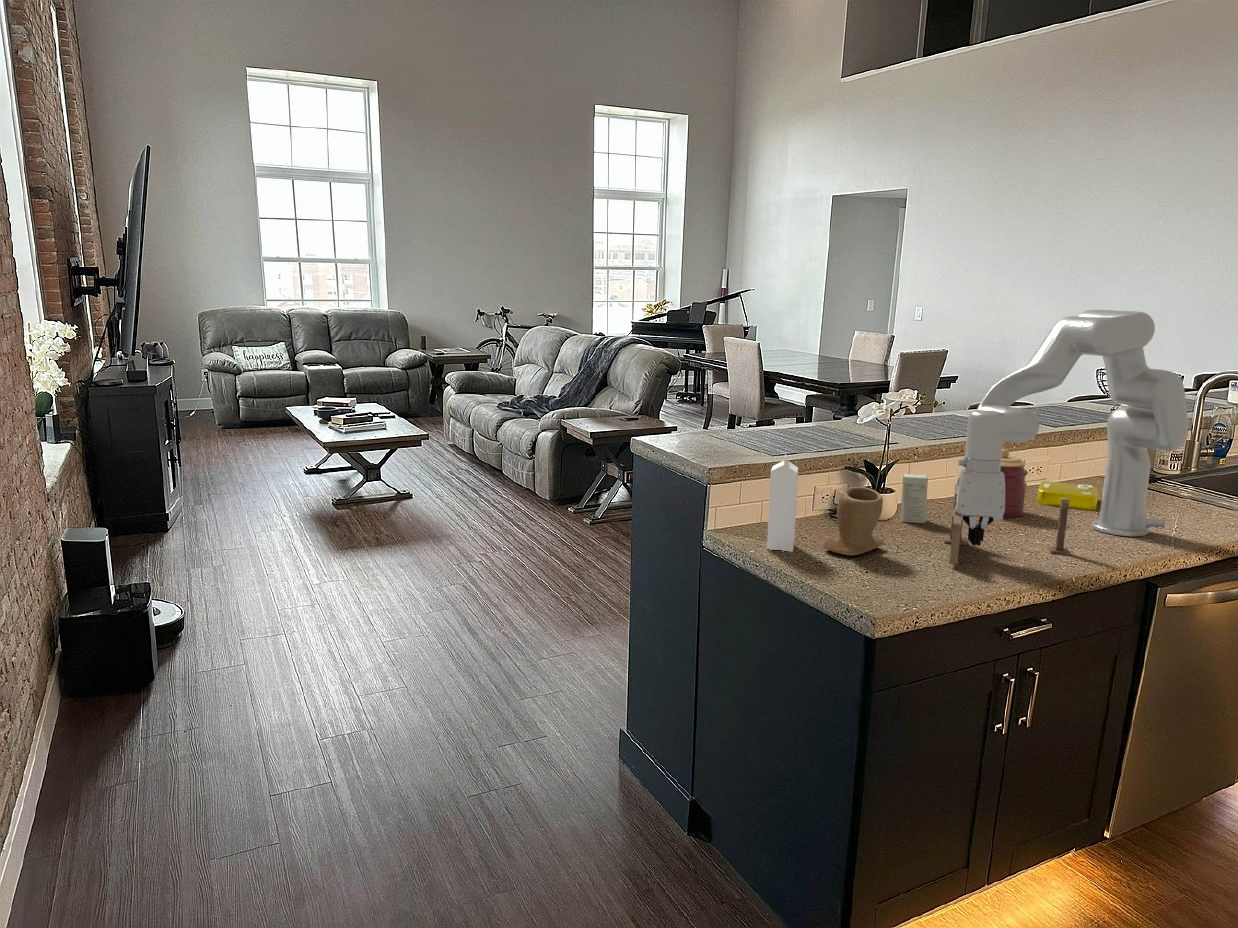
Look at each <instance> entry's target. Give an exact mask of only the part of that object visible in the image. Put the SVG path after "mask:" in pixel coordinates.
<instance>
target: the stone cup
mask: <svg viewBox="0 0 1238 928" xmlns="http://www.w3.org/2000/svg"><path fill="white" fill-rule="evenodd" d="M883 501H884V500H883V495H882V494H881V493H880V492H878V491H876V490H875V489H873V488H869V487H865V486H851V487H848V488H846V489H844V490H843V491H842V492H841V493H840V496H839V498H838V502H837V506H836V507H837V509H836V518H837V523H838V532H839V533H838V535H837V536H834V537H830V538H829V539H826V540H825V541H824V542H823V543H822V545H823V548H825V549H826V550H828V551H830V552H833V553H835V554H841V555H843V556H844V555H845V556H857V555H858V556H859V555H861V554H865V553H867V552H869V551H872V550H874V549H877V548H879V547H881V546H883V545H884V544H885V542H884V540H883V539H882V538H881V537H879V536H878V535H877V534H875V533H874V531H875V528H876V526H877V523H878V522H879V519H880V518H881V514H882V512H883V504H884V503H883Z"/></svg>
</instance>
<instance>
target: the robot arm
mask: <svg viewBox="0 0 1238 928" xmlns="http://www.w3.org/2000/svg"><path fill="white" fill-rule="evenodd" d="M1155 330H1156V325H1155V321H1154V319H1153V317H1152V316H1151V315H1150V314H1148V313H1147V312H1143V311H1136V310H1135V311H1133V310H1130V311H1129V310H1113V309H1088V310H1085V311H1082V312H1080V313H1079V314H1078V315H1076V316H1075V315H1073V316H1066V317H1063V318H1060V319H1059V320H1058V321H1056V322H1055V323H1054V324H1053V326H1052V328H1051V329H1050V330H1049V332H1048V333H1047V335H1046V336H1045V338H1044V339H1043V340H1042V342H1041V344H1040V345H1039V347H1038V348H1037V350H1036V351H1035V353H1034V354H1033V355H1032V356H1031V358H1030V360H1029V361H1028V363H1027V364H1026V365H1025V366H1023V367H1020V368H1019V369H1018V370H1017V369H1016V370H1015V371H1013V372H1011V374H1009V375H1007V376H1006V377H1004V378H1002V379H1001V380H1000V381H998V382H997V383H995V384H994V385H993V386H992V387H991V388H990V389H989V390H988V392H987V393H986V394H985V396H984V397H983V399H982V400H981V402H980V403H979V405H978V406H977V408H976V410H973V411H971V412H970V413H969V415H968V419H967V430H966V439H965V440H966V441H965V453H964V456H963V458H962V459H958V460H957V466H960V467H962V468H963V469H960V472H959V475H958V477H957V478H958V479H957V482H956V484H957V486H956V492H955V491H954V493H955V498H954V497H953V503H954V511H953V510H952V515H951V516H953V517H954V514H960V515H962V519H961V520H963V521H964V523H966V525H967V526H968V533H967V540H968V541H969V543H970V544H971V545H972V546H978V547H981V543H982V542H983V541H984V537H985V536H984V535H985V530H986V529H987V527H988V526H989V525H990V524H992V523H993V522H997V521H1002V520H1003V519H1004V517H1003V514H1004V511H1005V477H1004V473H1003V472H1001V471H1000V468H1001V458H1002V449H1003V445H1004V443H1014V444H1015V443H1017V444H1021V443H1027V442H1029V441H1031V440H1033V439H1034V438H1035V437H1036V436H1037V434H1038V433H1039V430H1040V420H1039V418H1038V416H1036V414H1034V412H1032V411H1030V410H1026V409H1023V408H1017V407H1013V406H1012V404H1014V403H1015V402H1017V401H1019V400H1021V399H1022V398H1025V397H1026V396H1027V397H1028V396H1030V395H1035V394H1038V393H1042V392H1045V391H1049V390H1052V389H1055V388H1057V387H1059V386H1060V385H1062V383H1064V381H1065V380H1066V378H1067V376H1068V375H1069V373H1070V372H1071V370H1072V369H1073V367H1074V366H1075V365H1076V363H1077V362H1078V360H1079V358H1080V357H1081V356H1084V355H1085V356H1086V355H1087V356H1088V355H1089V356H1097V357H1098V356H1099V357H1100V356H1101V357H1102V359H1103V364H1104V372H1105V378H1106V383H1107V389H1108V394H1109V397H1110V399H1111V401H1112V402H1114V403H1115V404H1117V405H1120V407H1118V408H1115V409H1114V410H1113V411H1112V412H1111V413H1110V414H1109V416H1108V419H1107V420H1106V421H1107V422H1106V434H1107V435H1106V436H1107V457H1106V464H1105V465H1106V466H1105V474H1104V478H1103V479H1104V481H1103V488H1102V495H1101V502H1100V503H1101V504H1100V511H1099V517H1098V518H1099V519H1098V518H1097V519H1094V520H1092V521H1091V527H1092V528H1093V529H1094V530H1096V531H1098V532H1102V533H1105V534H1106V533H1107V534H1109V535H1110V534H1111V535H1114V536H1115V535H1116V536H1120V537H1121V536H1123V537H1143V536H1146V535H1148V534H1149V532H1150V530H1149V528H1150V527H1155V528H1163V529H1164V528H1165V527H1166V526H1165V525H1166V521H1165V519H1157V517H1147V515H1145V509H1146V508H1145V507H1146V503H1147V501H1146V500H1147V496H1148V495H1147V494H1148V486H1149V479H1150V474H1151V473H1150V472H1151V459H1150V455H1149V453H1148V452H1147V451H1148V450H1147V449H1152V450H1157V451H1161V452H1162V451H1163V452H1173V451H1176V450H1177V451H1178V450H1179V449H1181V448H1182V447H1183V446H1184V445H1185V443H1186V441H1187V439H1188V436H1189V418H1188V410H1187V401H1186V400H1187V399H1186V393H1185V386H1184V383H1183V381H1182V379H1181V377H1180V376H1179V375H1178V374H1177V373H1175V372H1174V371H1170V370H1165V369H1158V368H1157V369H1155V368H1150V367H1149V366H1148V364H1147V361H1146V356H1145V351H1144V347H1145V346H1147V345H1149V343H1150V342H1151V341H1152V339H1153V337H1154V334H1155V332H1156V331H1155ZM1011 406H1012V407H1011ZM976 517H979V518H978V522H977V524H976Z"/></svg>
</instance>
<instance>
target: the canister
mask: <svg viewBox="0 0 1238 928" xmlns="http://www.w3.org/2000/svg"><path fill="white" fill-rule="evenodd" d="M1026 464H1027V463H1026V462H1025V461H1024V460H1022V459H1021V458H1020V457H1018V456H1015V455H1010V452H1009V450H1008V449H1007V448H1002V458H1001V468H1000V471H1001V472H1003V473H1004V477H1005V511H1004V514H1003V518H1017V517H1022V516H1023V513H1024V510H1025V498H1026V492H1027V485H1028V484H1027V482H1026V476H1028V475H1029V471H1028V470H1027V469H1025V466H1026Z"/></svg>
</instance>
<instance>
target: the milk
mask: <svg viewBox="0 0 1238 928" xmlns="http://www.w3.org/2000/svg"><path fill="white" fill-rule="evenodd" d="M798 478H799V467H798V466H796V465H795V464H793V463H792V462H790V461H789V460H787V453H785V455H784V458H783V460H782V461H780V462H778V463H776V464H774V465H772V468H771V469H770V479H769V499H768V500H769V501H768V519H767V520H768V522H767V539H766V541H767V542H766V543H767V544H766V550H767V549H773V550H782V551H781V552H784V551H789V552H788V553H793V552H794V548H795V547H794V546H795V535H796V533H795V531H796V517H797V516H796V514H797V499H798V495H797V494H798V481H799V480H798Z"/></svg>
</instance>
